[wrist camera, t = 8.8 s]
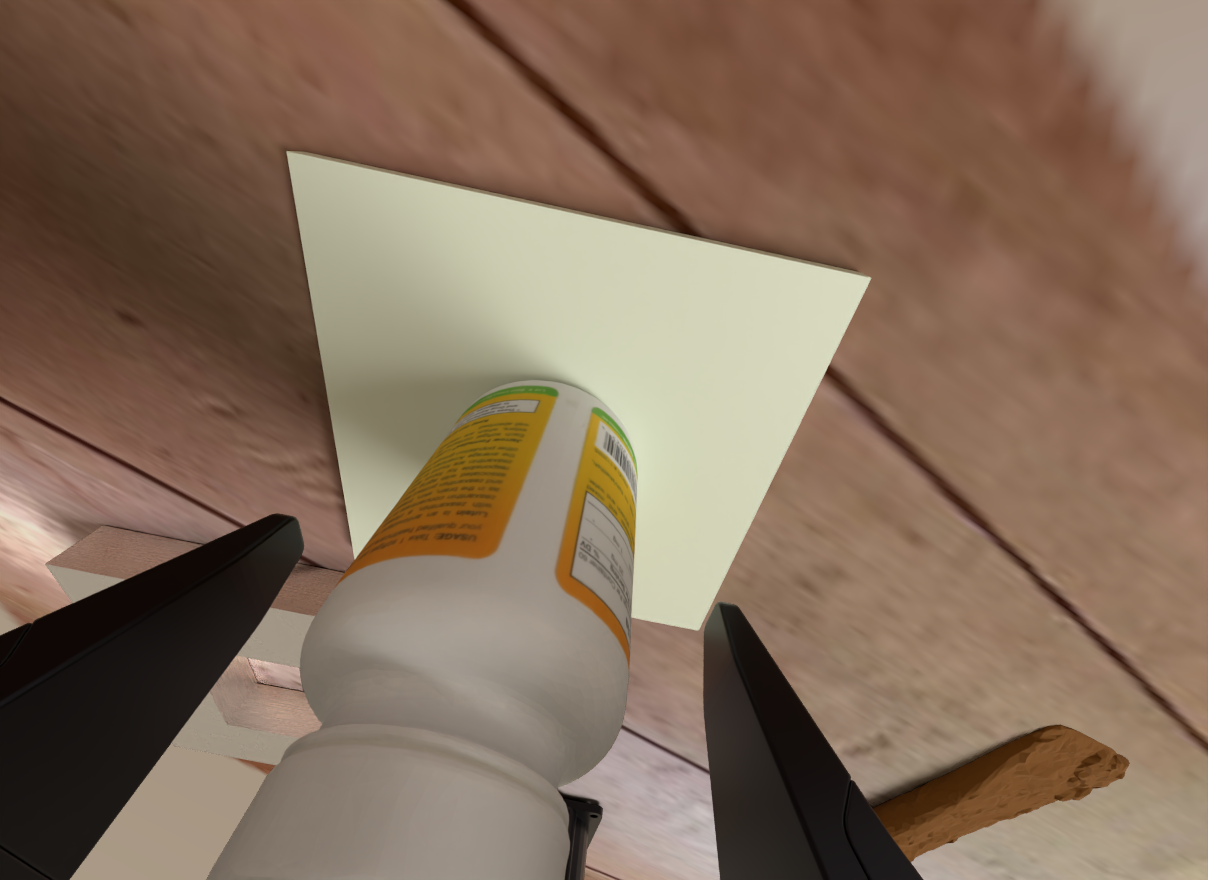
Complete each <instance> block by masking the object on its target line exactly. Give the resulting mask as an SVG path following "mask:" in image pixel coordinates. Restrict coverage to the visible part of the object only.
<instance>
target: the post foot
mask: <svg viewBox="0 0 1208 880" xmlns="http://www.w3.org/2000/svg"><path fill="white" fill-rule="evenodd" d="M200 546H202V545H201V544H196V543H190V542H185V541H180V540H175V539H170V538H165V537H160V536H155V535H150V534H145V533H139V532H134V531H129V530H124V529H119V528H114V527H109V526H104V525H103V526H101V527H100V528H98V529H97V530H95V531H94V532H92V533H91V534H89V535H88V536H86V537H85V538H83V539H82V540H80V541H79V542H77V543H76V544H74V545H73V546H71V547H70V548H68V549H67V550H65V551H64V552H62V553H61V554H59V555H58V556H56V557H55V558H53V559H52V560H50V561H49V562H47V563H46V564H45V565H46V566H47V568H48V569H49V570H50V572H51V573H52V575H53V576H54V578H55V579H56V580H57V582H58V583H59V585H60V586H61V587H62V589H63V590H64V592H65V593H66V594H67V596H68V597H69V599H70V600H71V601H72V603H74V602H77V601H79V600H81V599H83V598H86V597H88V596H90V595H92V594H94V593H97V592H99V591H101V590H103V589H106V588H108V587H110V586H112V585H115V584H117V583H119V582H121V581H124V580H126V579H128V578H130V577H133V576H135V575H137V574H139V573H142V572H144V571H146V570H148V569H150V568H153V567H155V566H157V565H159V564H162V563H164V562H166V561H168V560H171V559H173V558H175V557H177V556H180V555H182V554H184V553H186V552H189V551H191V550H193V549H195V548H198V547H200ZM343 575H344V573H343V572H338V571H333V570H328V569H323V568H318V567H313V566H308V565H303V564H296V565H295V567H294V569H293V570H292V572H291V574H290V575H289V577H288V579H287V580H286V582H285V584H284V585H283V587H282V589H281V590H280V592H279V594H278V595H277V597H276V599H275V600H274V602H273V604H272V605H271V607H270V609H269V610H268V612H267V613H266V615H265V616H264V618H263V620H262V621H261V623H260V624H259V625H258V627H257V628H256V630H255V631H254V632H253V634H252V635H251V637H250V638H249V639H248V641H247V642H246V643H245V645H244V646H243V647H242V649H241V650H240V651H239V653H238V654H237V655H236V657H235V658H234V659H233V661H232V662H231V663H230V665H229V666H228V667H227V669H226V670H225V671H224V673H223V674H222V676H221V677H220V678H219V680H218V681H217V682H216V684H215V685H214V686H213V688H212V689H211V690H210V692H209V693H208V694H207V696H206V697H205V698H204V700H203V701H202V702H201V704H200V705H199V706H198V708H197V709H196V710H195V712H194V713H193V714H192V716H191V717H190V719H189V720H188V721H187V723H186V724H185V725H184V727H183V728H182V729H181V731H180V732H179V733H178V735H177V736H176V737H175V739H174V740H173V741H172V744H173V745H174V746H176V747H182V748H186V749H192V750H197V751H202V752H208V753H213V754H219V755H224V756H229V757H235V758H240V759H245V760H251V761H256V762H262V763H267V764H272V765H278V764H279V763H280V762H281V758H282V756H283V754H284V752H285V751H286V749H287V748H288V747H289V746H290V745H291V744H292V743H294V742H295V741H296V740H298V739H299V738H301V737H303V736H305V735H307V734H309V733H311V732H314V731H317V730H319V728H320V727H321V725H322V724H321V722H320V721H319V720H318V718H317V717H316V716H315V714H314V712H313V710H312V709H311V707H310V705H309V703H308V701H307V698H306V696H305V693H304V692H300V691H295V690H290V689H284V688H279V687H274V686H269V685H263V684H258V682H257V680H256V678H255V675H254V673H253V671H252V668H251V666H250V664H249V661H248V659H247V658H251V659H257V660H262V661H267V662H272V663H277V664H283V665H288V666H293V667H298V668H300V657H301V650H302V645H303V642H304V639H305V636H306V634H307V631H308V629H309V627H310V625H311V622H312V621H313V619H314V618H315V616H316V615H317V613H318V612H319V610H320V608H321V607H322V605H323V604H324V602H325V601H326V599H327V597H328V596H329V595H330V593H331V592H332V590H333V589H334V587H335V586H336V585H337V583H338V582H339V580H340V579H341V577H342V576H343Z"/></svg>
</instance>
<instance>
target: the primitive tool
mask: <svg viewBox="0 0 1208 880" xmlns="http://www.w3.org/2000/svg"><path fill="white" fill-rule="evenodd" d="M1129 764H1130V763H1129V761H1128V760H1127V759H1126V758H1125V757H1123V756H1122V755H1119V754H1117V753H1116V752H1115V751H1114V750H1113V749H1112V748H1110V747H1108V746H1106V745H1104V744H1102V743H1099V742H1098V741H1096V740H1094V739H1092V738H1090V737H1088V736H1086V735H1084V734H1083V733H1081V732H1078V731H1076V730H1074V729H1071V728H1068V727H1065V726H1063V725H1054V726H1048V727H1045V728H1043V729H1041V730H1038V731H1035V732H1033V733H1031V734H1028V735H1026V736H1024V737H1022V738H1019V739H1017V740H1015V741H1013V742H1010V743H1008V744H1006V745H1004V746H1002V747H1000V748H998V749H996V750H994V751H992V752H990V753H988V754H986V755H984V756H982V757H980V758H978V759H976V760H974V761H972V762H970V763H968V764H966V765H964V766H962V767H960V768H958V769H956V770H955V771H952V772H950V773H948V774H946V775H944V776H942V777H939V778H937V779H934V780H932V781H930V782H928V783H926V784H924V785H922V786H920V787H918V788H916V789H914V790H913V791H911V792H908V793H905V794H902V795H900V796H897V797H895V798H894V799H892V800H889V801H887V802H885V803H883V804H881V805H879V806H877V807H874V808H872V809H873V810H874V812H875V813H876V814H877V816H878V817H879V819H880V820H881V822H882V823H883V825H884V826H885V828H886V829H887V830H888V832H889V833H890V835H891V836H892V838H893V839H894V841H895V842H896V843H897V845H898V846H899V847H900V849H901V850H902V851H903V853H904V854H905V855H906V857H907V858H908V860H909V861H910V862H911V861H913V860H914V859H915V857H917V856H919V855H921V854H923V853H925V852H927V851H930V850H934V849H936V848H938V847H940V846H942V845H944V844H946V843H954V842H955V841H957V839H958V838H959V837H961V836H963V835H966V834H969V833H972V832H974V831H977V830H979V829H981V828H983V827H989V826H991V825H993V824H995V823H996V822H998V821H1002V820H1005V819H1013V818H1015V817H1017V816H1019V815H1021V814H1024V813H1029V812H1031V811H1033V810H1036V809H1039V808H1040V807H1041V806H1044V805H1047V804H1049V803H1053V802H1055V801H1057V800H1060V801H1068V800H1071V799H1073V800H1080V799H1082V798H1084V797H1085V796H1087V795H1088V794H1090V792H1091V791H1092V789H1093V788H1101V787H1106V786H1108V785H1109V784H1110V783H1111V782H1113V781H1116V780H1118V779H1122V778H1123V777H1124V776H1125V771H1126V769H1127V768H1128V766H1129Z"/></svg>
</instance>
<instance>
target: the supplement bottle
mask: <svg viewBox="0 0 1208 880" xmlns="http://www.w3.org/2000/svg"><path fill="white" fill-rule="evenodd" d="M637 481H638V474H637V459H636V453H635V449H634V446H633V443H632V440H631V438H630V435H629V434H628V432H627V430H626V428H625V427H624V425H623V424H622V422H621V421H620V420H619V418H618V417H617V416H616V415H615V414H614V413H613V412H612V410H611V409H610V408H608V407H607V406H606V405H605V404H604V403H602V402H601V401H600V400H598V399H597V398H595V397H594V396H592V395H590V394H588V393H586V392H584V391H582V390H580V389H578V388H575V387H572V386H569V385H566V384H562V383H558V382H552V381H543V380H526V381H518V382H513V383H508V384H505V385H502V386H499V387H497V388H494V389H492V390H490V391H488V392H487V393H485V394H483V395H482V396H481V397H479V398H478V399H477V400H476V401H474V402H473V403H472V404H471V405H470V406H469V408H468V409H467V410H466V411H465V412H464V413H463V414H462V416H461V417H460V418H459V419H458V421H457V422H456V423H455V425H454V426H453V428H452V429H451V430H450V431H449V433H448V434H447V436H446V437H445V438H444V440H443V441H442V443H441V444H440V445H439V447H438V448H437V449H436V451H435V452H434V453H433V455H432V456H431V457H430V459H429V460H428V461H427V463H426V464H425V465H424V467H423V468H422V470H421V471H420V472H419V474H418V475H417V476H416V478H415V479H414V480H413V482H412V483H411V484H410V486H409V487H408V488H407V490H406V491H405V492H404V494H403V495H402V497H401V498H400V499H399V501H398V502H397V504H396V505H395V506H394V508H393V509H392V510H391V512H390V513H389V514H388V515H387V517H386V518H385V519H384V521H383V522H382V523H381V525H380V526H379V527H378V529H377V530H376V531H375V533H374V534H373V536H372V537H371V538H370V540H369V541H368V542H367V544H366V545H365V546H364V548H363V549H362V551H361V552H360V553H359V555H358V556H357V557H356V559H355V560H354V561H353V563H352V564H351V565H350V567H349V568H348V569H347V571H346V572H345V573H344V575H343V576H342V577H341V579H340V580H339V582H338V583H337V585H336V586H335V587H334V589H333V590H332V592H331V593H330V595H329V596H328V597H327V599H326V601H325V602H324V604H323V605H322V607H321V608H320V610H319V612H318V613H317V615H316V616H315V618H314V619H313V621H312V622H311V625H310V627H309V629H308V631H307V634H306V636H305V639H304V642H303V645H302V650H301V657H300V676H301V683H302V688H303V690H304V693H305V696H306V698H307V701H308V703H309V705H310V707H311V709H312V710H313V712H314V714H315V716H316V717H317V718H318V720H319V721H320V722H321V724H322V725H321V727H320V728H319V730H317V731H314V732H311V733H309V734H307V735H305V736H303V737H301V738H299V739H298V740H296V741H295V742H294V743H292V744H291V745H290V746H289V747H288V748H287V749H286V751H285V752H284V754H283V756H282V758H281V762H280V763H279V764H278V765H277V766H275V767H274V768H273V769H272V770H271V772H270V773H269V774H268V775H267V776H266V778H265V780H264V782H263V784H262V785H261V787H260V789H259V791H258V792H257V794H256V796H255V798H254V799H253V801H252V803H251V804H250V806H249V808H248V809H247V811H246V813H245V814H244V816H243V818H242V819H241V821H240V823H239V824H238V826H237V828H236V829H235V831H234V833H233V834H232V836H231V838H230V839H229V841H228V843H227V844H226V846H225V848H224V850H223V851H222V853H221V855H220V856H219V858H218V860H217V862H216V863H215V865H214V866H213V868H212V870H211V872H210V874H209V875H208V877H207V879H206V880H564V879H565V872H566V865H567V860H568V856H569V851H570V840H569V835H568V825H569V813H568V810H567V806H566V803H565V801H564V800H563V798H562V797H561V795H560V793H559V792H558V787H561V786H563V785H566V784H569V783H571V782H572V781H574V780H576V779H578V778H580V777H582V776H583V775H585V774H586V773H588V772H589V771H590V770H591V769H593V768H594V767H595V766H596V765H597V764H598V763H599V762H600V761H601V760H602V759H603V758H604V757H605V755H606V754H607V753H608V751H609V750H610V749H611V747H612V745H613V744H614V742H615V740H616V738H617V736H618V734H619V731H620V729H621V726H622V723H623V719H624V714H625V708H626V701H627V690H628V680H629V661H630V636H631V614H632V594H633V573H634V554H635V531H636V507H637Z"/></svg>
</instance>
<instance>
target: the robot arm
mask: <svg viewBox="0 0 1208 880" xmlns="http://www.w3.org/2000/svg"><path fill="white" fill-rule="evenodd" d="M303 550H304V541H303V537H302V533H301V529H300V525H299V521H298V519H297V518H296V517H293V516H289V515H284V514H272V515H269V516H267V517H265V518H262V519H260V520H258V521H256V522H254V523H251V524H249V525H247V526H245V527H242V528H240V529H238V530H236V531H233V532H231V533H229V534H227V535H224V536H222V537H220V538H218V539H215V540H213V541H211V542H209V543H206V544H204V545H202V546H200V547H198V548H195V549H193V550H191V551H189V552H186V553H184V554H182V555H180V556H177V557H175V558H173V559H171V560H168V561H166V562H164V563H162V564H159V565H157V566H155V567H153V568H150V569H148V570H146V571H144V572H142V573H139V574H137V575H135V576H133V577H130V578H128V579H126V580H124V581H121V582H119V583H117V584H115V585H112V586H110V587H108V588H106V589H103V590H101V591H99V592H97V593H94V594H92V595H90V596H88V597H86V598H83V599H81V600H79V601H77V602H74V603H72V604H70V605H68V606H65V607H63V608H61V609H59V610H56V611H54V612H52V613H50V614H47V615H45V616H43V617H41V618H38V619H36V620H35V621H34V622H33V623H27V624H25V625H22V626H20V627H18V628H16V629H13V630H11V631H9V632H7V633H5V634H3V635H0V880H70V878H71V877H72V876H73V874H74V873H75V872H76V870H77V869H78V868H79V866H80V865H81V864H82V862H83V861H84V860H85V858H86V857H87V856H88V854H89V853H90V851H91V850H92V849H93V848H94V846H95V845H96V843H97V842H98V841H99V839H100V838H101V837H102V835H103V834H104V833H105V831H106V830H107V829H108V827H109V826H110V825H111V823H112V822H113V821H114V819H115V818H116V817H117V815H118V814H119V812H120V811H121V810H122V808H123V807H124V806H125V804H126V803H127V802H128V800H129V799H130V798H131V796H132V795H133V794H134V792H135V791H136V790H137V788H138V787H139V786H140V784H141V783H142V782H143V780H144V779H145V778H146V776H147V775H148V774H149V772H150V771H151V770H152V768H153V767H154V766H155V764H156V763H157V761H158V760H159V759H160V757H161V756H162V755H163V753H164V752H165V751H166V749H167V748H168V747H169V745H170V744H171V743H172V741H173V740H174V739H175V737H176V736H177V735H178V733H179V732H180V731H181V729H182V728H183V727H184V725H185V724H186V723H187V721H188V720H189V719H190V717H191V716H192V714H193V713H194V712H195V710H196V709H197V708H198V706H199V705H200V704H201V702H202V701H203V700H204V698H205V697H206V696H207V694H208V693H209V692H210V690H211V689H212V688H213V686H214V685H215V684H216V682H217V681H218V680H219V678H220V677H221V676H222V674H223V673H224V671H225V670H226V669H227V667H228V666H229V665H230V663H231V662H232V661H233V659H234V658H235V657H236V655H237V654H238V653H239V651H240V650H241V649H242V647H243V646H244V645H245V643H246V642H247V641H248V639H249V638H250V637H251V635H252V634H253V632H254V631H255V630H256V628H257V627H258V625H259V624H260V623H261V621H262V620H263V618H264V616H265V615H266V613H267V612H268V610H269V609H270V607H271V605H272V604H273V602H274V600H275V599H276V597H277V595H278V594H279V592H280V590H281V589H282V587H283V585H284V584H285V582H286V580H287V579H288V577H289V575H290V574H291V572H292V570H293V569H294V567H295V565H296V564H297V562H298V560H299V559H300V557H301V555H302V553H303ZM703 704H704V721H705V731H706V741H707V751H708V761H709V771H710V781H711V791H712V801H713V811H714V821H715V831H716V841H717V852H718V862H719V872H720V880H923V879H922V877H921V876H920V874H919V873H918V872H917V870H916V869H915V868H914V866H913V865H912V864H911V862H910V861H909V860H908V858H907V857H906V855H905V854H904V853H903V851H902V850H901V849H900V847H899V846H898V845H897V843H896V842H895V841H894V839H893V838H892V836H891V835H890V833H889V832H888V830H887V829H886V828H885V826H884V825H883V823H882V822H881V820H880V819H879V817H878V816H877V814H876V813H875V812H874V810H873V809H872V807H871V806H870V804H869V803H868V801H867V800H866V798H865V797H864V795H863V794H862V792H861V791H860V789H859V788H858V786H857V785H856V783H855V782H854V781H853V780H851V776H850V774H849V773H848V771H847V770H846V768H845V767H844V765H843V764H842V762H841V761H840V759H839V758H838V756H837V755H836V753H835V752H834V750H833V749H832V747H831V746H830V744H829V743H828V741H827V740H826V738H825V737H824V735H823V734H822V732H821V731H820V729H819V728H818V726H817V725H816V723H815V722H814V720H813V719H812V717H811V716H810V714H809V713H808V711H807V709H806V708H805V706H804V705H803V703H802V702H801V700H800V699H799V697H798V696H797V694H796V693H795V691H794V690H793V688H792V687H791V685H790V684H789V682H788V681H787V679H786V678H785V676H784V675H783V673H782V672H781V670H780V669H779V667H778V666H777V664H776V663H775V661H774V660H773V658H772V657H771V655H770V654H769V652H768V651H767V649H766V648H765V646H764V645H763V643H762V642H761V640H760V639H759V637H758V636H757V634H756V633H755V631H754V629H753V628H752V626H751V625H750V623H749V622H748V620H747V619H746V617H745V616H744V614H743V613H742V611H741V610H740V608H739V607H738V606H736V605H734V604H730V603H725V602H718V603H716V605H715V607H714V609H713V611H712V613H711V615H710V617H709V619H708V621H707V623H706V625H705V629H704V680H703ZM563 800H564V801H565V803H566V806H567V810H568V813H569V825H568V835H569V840H570V851H569V856H568V860H567V865H566V872H565V879H564V880H584V875H585V864H586V854H587V849H588V846H589V844H590V842H591V840H592V838H593V836H594V834H595V832H596V830H597V828H598V825H599V823H600V821H601V819H602V813H603V808H602V807H601V806H598V805H594V804H588V803H583V802H578V801H572V800H567V799H563Z"/></svg>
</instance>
